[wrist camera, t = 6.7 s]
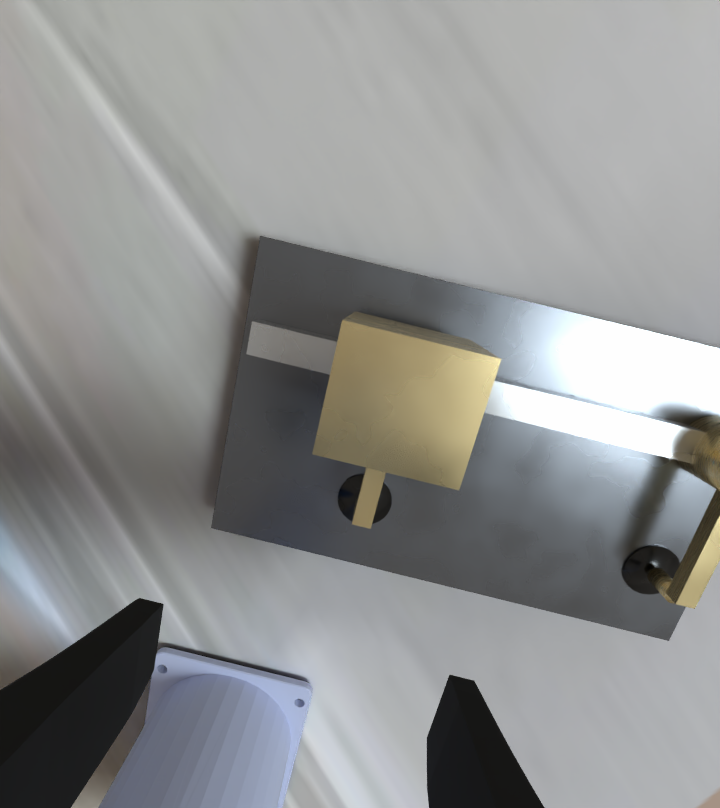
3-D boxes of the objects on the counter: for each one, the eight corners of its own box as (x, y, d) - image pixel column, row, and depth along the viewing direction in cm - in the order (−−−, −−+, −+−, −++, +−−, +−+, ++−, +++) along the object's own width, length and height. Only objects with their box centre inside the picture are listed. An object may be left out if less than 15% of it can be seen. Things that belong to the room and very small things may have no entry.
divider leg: (410, 523, 18) (418, 616, 13) (313, 499, 18) (283, 582, 13) (465, 336, 16) (501, 358, 11) (357, 310, 16) (342, 319, 11)
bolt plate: (648, 615, 21) (709, 691, 17) (223, 510, 21) (185, 562, 17) (770, 362, 17) (878, 383, 14) (270, 240, 18) (237, 226, 14)
